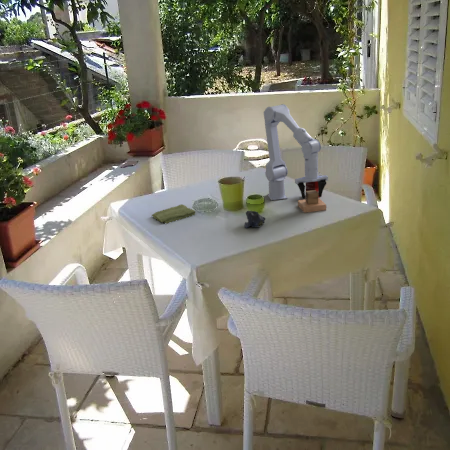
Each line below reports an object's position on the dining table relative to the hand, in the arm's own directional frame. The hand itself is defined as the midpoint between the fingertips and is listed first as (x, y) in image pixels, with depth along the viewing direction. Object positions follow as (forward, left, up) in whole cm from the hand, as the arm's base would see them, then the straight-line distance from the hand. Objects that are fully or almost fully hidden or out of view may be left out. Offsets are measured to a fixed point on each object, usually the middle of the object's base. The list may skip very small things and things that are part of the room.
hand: (311, 197), depth 217 cm
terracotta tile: (0, 0, -5) cm, 5 cm away
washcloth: (-10, -62, -6) cm, 63 cm away
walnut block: (0, 0, -2) cm, 2 cm away
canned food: (-16, +6, -5) cm, 18 cm away
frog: (+14, -29, -5) cm, 33 cm away
